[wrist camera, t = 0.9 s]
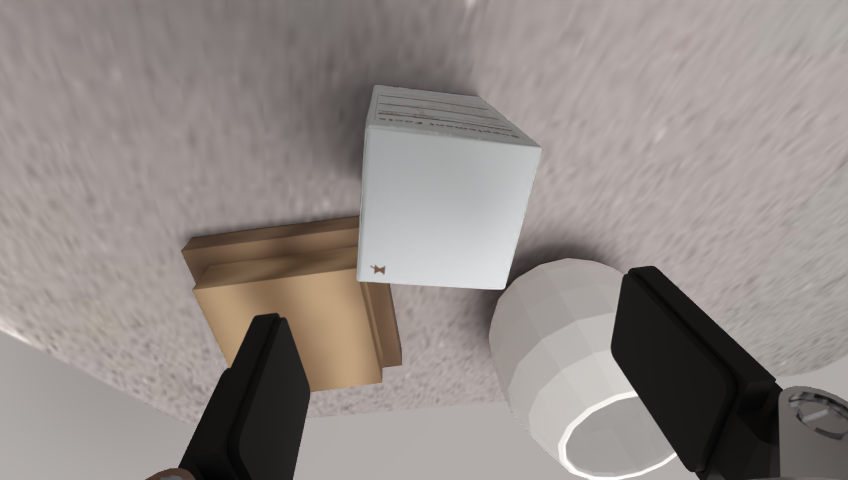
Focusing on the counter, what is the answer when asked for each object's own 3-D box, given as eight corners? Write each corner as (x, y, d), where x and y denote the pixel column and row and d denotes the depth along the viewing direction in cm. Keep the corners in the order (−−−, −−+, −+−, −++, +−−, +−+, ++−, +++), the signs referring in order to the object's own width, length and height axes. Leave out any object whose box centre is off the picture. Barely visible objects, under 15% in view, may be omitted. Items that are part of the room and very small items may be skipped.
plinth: (376, 213, 30) (374, 246, 26) (401, 348, 37) (403, 392, 33) (192, 237, 30) (159, 274, 26) (251, 369, 37) (233, 415, 33)
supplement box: (463, 195, 30) (505, 297, 19) (364, 185, 29) (350, 286, 18) (483, 94, 27) (549, 146, 16) (373, 78, 26) (361, 123, 15)
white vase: (481, 244, 33) (534, 371, 21) (639, 234, 33) (776, 351, 21) (476, 362, 39) (513, 510, 27) (608, 351, 40) (700, 492, 28)
